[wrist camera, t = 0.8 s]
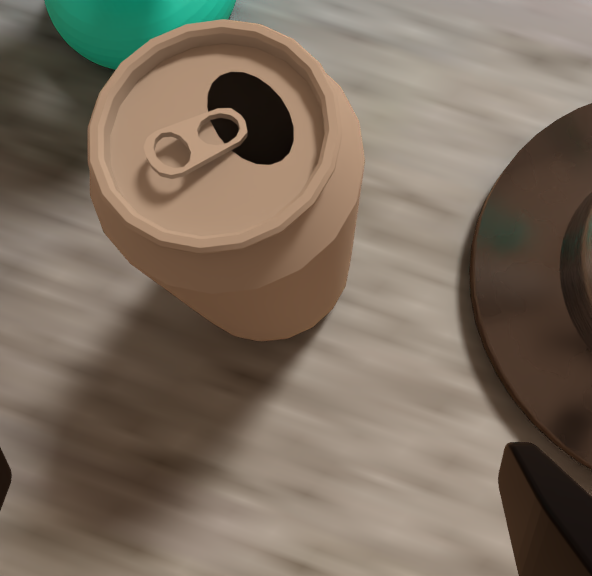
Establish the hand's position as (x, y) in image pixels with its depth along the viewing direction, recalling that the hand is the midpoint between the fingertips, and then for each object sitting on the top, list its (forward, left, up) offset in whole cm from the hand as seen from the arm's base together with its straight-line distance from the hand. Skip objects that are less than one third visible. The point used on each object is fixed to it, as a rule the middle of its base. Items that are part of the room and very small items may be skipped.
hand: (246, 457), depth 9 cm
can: (+7, +1, -13) cm, 15 cm away
